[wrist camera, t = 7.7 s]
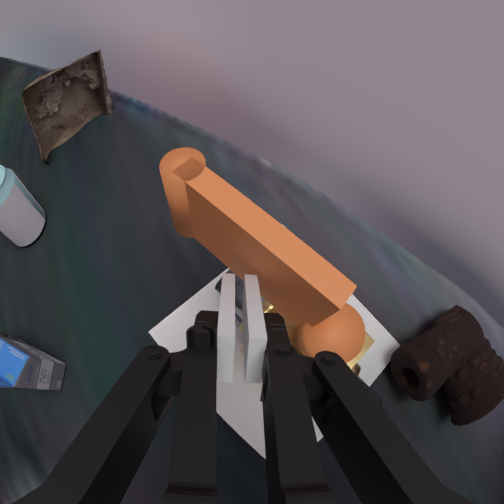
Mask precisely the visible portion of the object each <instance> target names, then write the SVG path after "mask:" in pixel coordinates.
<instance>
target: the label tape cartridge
mask: <svg viewBox="0 0 504 504" xmlns="http://www.w3.org/2000/svg"><path fill="white" fill-rule="evenodd" d="M65 369H66V364H65V363H64V362H62V361H60V360H58V359H56V358H54V357H52V356H50V355H48V354H46V353H44V352H43V351H41V350H39V349H37V348H35V347H34V346H32V345H30V344H28V343H27V342H25V341H23V340H21V339H18V338H15V337H12V336H9V335H6V334H3V333H0V388H4V387H5V388H6V387H19V388H30V389H45V390H61V388H62V383H63V378H64V373H65Z"/></svg>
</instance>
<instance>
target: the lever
mask: <svg viewBox="0 0 504 504" xmlns="http://www.w3.org/2000/svg"><path fill="white" fill-rule="evenodd" d="M159 168H160V173H161V177H162V181H163V185H164V189H165V193H166V197H167V200H168V204H169V208H170V211H171V215H172V219H173V222H174V226H175V229H176V231H177V232H178V233H179V234H180V235H181V236H183V237H187V238H195V239H197V240H198V241H199V242H200V243H201V244H202V245H203V246H204V247H206V248H207V249H208V250H209V251H210V252H211V253H212V254H213V255H215V256H216V257H217V258H218V259H219V260H220V261H221V262H223V263H224V264H225V265H226V266H227V267H228V268H229V269H231V270H232V271H233V272H234V273H235V274H236V275H238V276H239V277H240V278H241V279H242V280H243V281H244V277H245V274H247V275H257V278H258V284H259V290H260V295H261V296H262V297H263V298H264V299H265V300H267V301H268V302H269V303H270V304H271V305H272V306H274V307H275V308H276V309H277V310H278V311H280V312H281V313H282V314H283V315H284V316H285V317H287V318H288V319H289V320H290V321H291V322H293V323H294V324H295V325H296V326H297V327H299V328H298V333H297V341H298V346H299V348H300V351H301V352H302V354H303V355H304V356H308V357H313V358H314V357H315V355H316V354H317V353H318V352H321V351H331V352H334V353H337V354H338V355H340V356H341V357H342V359H343V360H344V361H345V362H346V363H347V362H349V361H351V360H353V359H354V358H355V357H356V356H357V355H358V354H359V353H360V351H361V349H362V347H363V345H364V342H365V335H366V332H365V325H364V322H363V319H362V317H361V316H360V314H359V313H358V312H357V310H356V309H355V308H353V307H352V306H351V305H349V304H347V303H346V301H347V300H348V298H349V297H350V296H351V294H352V293H353V291H354V290H355V288H356V287H357V286H356V285H355V284H354V283H353V282H351V281H350V280H349V279H348V278H347V277H345V276H344V275H343V274H342V273H341V272H339V271H338V270H337V269H336V268H335V267H333V266H332V265H331V264H330V263H329V262H327V261H326V260H325V259H324V258H323V257H321V256H320V255H319V254H318V253H316V252H315V251H314V250H313V249H311V248H310V247H309V246H308V245H307V244H305V243H304V242H303V241H302V240H300V239H299V238H298V237H297V236H295V235H294V234H293V233H292V232H290V231H289V230H288V229H287V228H285V227H284V226H283V225H282V224H280V223H279V222H278V221H276V220H275V219H274V218H273V217H271V216H270V215H269V214H268V213H266V212H265V211H264V210H262V209H261V208H260V207H259V206H257V205H256V204H255V203H253V202H252V201H251V200H249V199H248V198H247V197H246V196H244V195H243V194H242V193H240V192H239V191H238V190H236V189H235V188H234V187H232V186H231V185H230V184H228V183H227V182H226V181H224V180H223V179H222V178H220V177H219V176H218V175H216V174H215V173H214V172H212V171H211V170H210V169H208V168H207V167H206V161H205V157H204V156H203V154H202V153H201V152H199V151H198V150H196V149H193V148H187V147H183V148H177V149H174V150H172V151H170V152H168V153H167V154H166V155H165V156H164V157H163V158H162V160H161V162H160V166H159Z"/></svg>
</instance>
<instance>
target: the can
mask: <svg viewBox="0 0 504 504" xmlns="http://www.w3.org/2000/svg"><path fill="white" fill-rule="evenodd" d="M44 224H45V212H44V210H43V209H42V208H41V206H40V205H39V204H38V203H37V202H36V200H35V199H34V198H33V197H32V195H31V194H30V193H29V192H28V190H27V189H26V188H25V186H24V185H23V184H22V182H21V181H20V180H19V179H18V177H17V176H16V174H15V173H14V172H13V171H12V170H11V169H8V168H5V167H4V166H2V165H0V231H1V232H2V233H3V234H4V235H6V236H7V237H8V238H9V239H10V240H11V241H12V242H14V243H15V244H16V245H17V246H21V247H23V246H27V245H29V244H31V243H32V242H33V241H35V240H36V239H37V237H38V236H39V235H40V233H41V231H42V229H43V227H44Z"/></svg>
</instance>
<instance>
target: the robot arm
mask: <svg viewBox="0 0 504 504" xmlns="http://www.w3.org/2000/svg"><path fill="white" fill-rule="evenodd" d="M242 328H243V351H244V373H245V383H261V381H263V385H262V391H261V398H260V401H262V406H263V422H264V438H265V455H266V471H267V487H268V504H337V500H336V495H335V492H334V490H333V489H332V487H329V486H328V485H327V484H326V481H325V476H324V471H323V466H322V461H321V457H320V452H319V447H318V443H317V438H316V433H315V429H314V424H313V420H312V417H313V419H314V421H315V423H316V424H317V426H318V428H319V430H320V432H321V433H322V435H323V437H324V439H325V440H326V442H327V444H328V446H329V447H330V449H331V451H332V453H333V454H334V456H335V458H336V460H337V461H338V463H339V465H340V467H341V468H342V470H343V472H344V473H345V475H346V477H347V479H348V480H349V482H350V484H351V485H352V487H353V489H354V490H355V492H356V494H357V496H358V497H359V499H360V501H361V502H362V504H474V503H473V502H471V501H469V500H467V499H466V498H464V497H462V496H460V495H459V494H457V493H455V492H454V491H452V490H450V489H449V488H447V487H446V486H444V485H442V484H441V483H440V481H439V480H438V479H437V478H436V476H435V475H434V474H433V473H432V471H431V470H430V469H429V467H428V466H427V465H426V464H425V462H424V461H423V460H422V459H421V457H420V456H419V455H418V453H417V452H416V451H415V450H414V448H413V447H412V446H411V445H410V443H409V442H408V441H407V439H406V438H405V437H404V436H403V434H402V433H401V432H400V431H399V429H398V428H397V427H396V425H395V424H394V423H393V422H392V420H391V419H390V418H389V417H388V415H387V414H386V413H385V412H384V410H383V409H382V408H381V406H380V405H379V404H378V403H377V401H376V400H375V399H374V398H373V396H372V395H371V394H370V393H369V391H368V390H367V389H366V388H365V386H364V385H363V384H362V382H361V381H360V380H359V379H358V377H357V376H356V375H355V374H354V372H353V371H352V370H351V369H350V367H349V366H348V365H347V364H346V362H345V361H344V360H343V359H342V357H341V356H340V355H338V354H337V353H334V352H331V351H321V352H318V353H317V354H316V355H315V357H314V358H313V357H308V356H304V355H301V354H299V353H297V350H296V348H295V347H294V346H292V345H291V343H290V339H289V336H288V332H287V328H286V325H285V321H284V318H283V317H282V316H281V315H280V314H279V313H263V309H262V302H261V296H260V290H259V284H258V278H257V275H247V274H245V277H244V290H243V304H242ZM186 342H187V348H186V349H184V350H182V351H178V352H172V353H169V350H167V349H166V348H165V347H163V346H159V345H151V346H147V347H145V348H143V349H142V350H141V351H140V352H139V354H138V355H137V356H136V358H135V359H134V360H133V361H132V363H131V364H130V365H129V367H128V368H127V369H126V371H125V372H124V373H123V375H122V376H121V377H120V379H119V380H118V381H117V383H116V384H115V385H114V386H113V388H112V389H111V390H110V392H109V393H108V394H107V396H106V397H105V398H104V400H103V401H102V403H101V404H100V405H99V407H98V408H97V409H96V411H95V412H94V413H93V415H92V416H91V417H90V419H89V420H88V421H87V423H86V424H85V426H84V427H83V428H82V430H81V431H80V432H79V434H78V435H77V437H76V438H75V439H74V441H73V442H72V444H71V445H70V446H69V448H68V449H67V451H66V452H65V453H64V455H63V456H62V458H61V459H60V460H59V462H58V463H57V465H56V466H55V467H54V469H53V470H52V472H51V473H50V475H49V476H48V478H47V479H46V480H45V482H44V483H43V485H41V486H40V487H38V488H36V489H35V490H33V491H32V492H30V493H29V494H27V495H25V496H24V497H22V498H20V499H19V500H17V501H16V502H14V503H12V504H120V503H121V501H122V499H123V497H124V495H125V493H126V491H127V489H128V487H129V485H130V483H131V481H132V479H133V477H134V475H135V473H136V472H137V470H138V468H139V466H140V464H141V462H142V460H143V458H144V456H145V454H146V452H147V450H148V448H149V446H150V444H151V442H152V440H153V438H154V436H155V435H156V433H157V431H158V429H159V427H160V425H161V423H162V421H163V419H164V417H165V415H166V413H167V411H168V409H169V407H170V405H171V403H172V401H173V400H174V396H178V395H179V402H178V409H177V417H176V425H175V433H174V441H173V450H172V459H171V468H170V479H169V486H168V488H166V491H165V495H164V504H218V503H217V452H216V392H217V382H230V383H232V381H233V363H234V346H235V274H229V273H223V275H222V285H221V295H220V306H219V311H207V310H201V311H200V312H199V313H198V314H197V315H196V318H195V323H194V326H191V327H189V328H188V329H187V331H186Z"/></svg>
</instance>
